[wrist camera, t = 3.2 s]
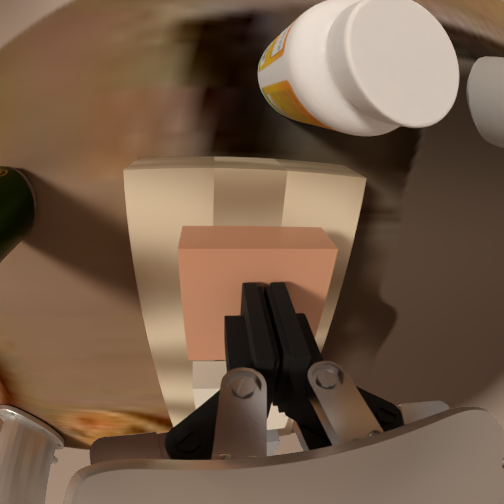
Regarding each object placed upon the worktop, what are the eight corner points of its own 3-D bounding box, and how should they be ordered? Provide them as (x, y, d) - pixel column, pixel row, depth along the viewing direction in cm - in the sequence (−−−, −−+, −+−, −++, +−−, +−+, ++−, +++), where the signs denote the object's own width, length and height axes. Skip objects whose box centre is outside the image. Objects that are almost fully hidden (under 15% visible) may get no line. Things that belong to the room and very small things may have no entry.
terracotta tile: (293, 308, 17) (310, 354, 14) (190, 311, 16) (188, 360, 13) (309, 213, 14) (338, 248, 11) (185, 211, 13) (177, 248, 10)
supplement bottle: (352, 119, 15) (476, 153, 7) (263, 126, 15) (330, 160, 6) (342, 35, 12) (461, -1, 4) (249, 36, 12) (300, -42, 4)
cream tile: (275, 388, 21) (284, 428, 18) (198, 392, 20) (200, 433, 17) (287, 337, 18) (301, 382, 15) (193, 340, 17) (192, 388, 14)
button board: (284, 412, 29) (289, 434, 27) (178, 417, 28) (178, 440, 25) (343, 165, 16) (366, 178, 14) (138, 158, 15) (123, 170, 12)
